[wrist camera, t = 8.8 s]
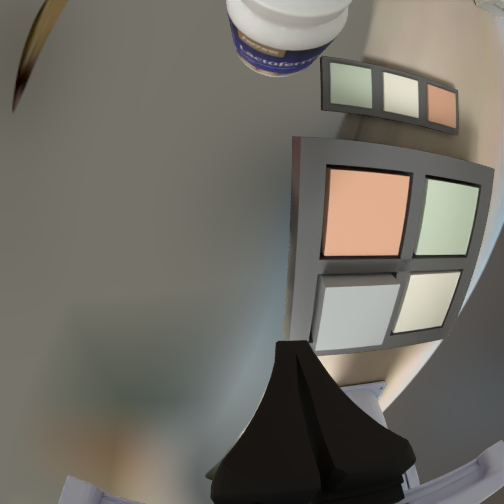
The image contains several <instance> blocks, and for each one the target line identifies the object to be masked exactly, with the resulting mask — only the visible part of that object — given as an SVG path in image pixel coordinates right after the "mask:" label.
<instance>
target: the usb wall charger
mask: <svg viewBox="0 0 504 504" xmlns="http://www.w3.org/2000/svg"><path fill="white" fill-rule="evenodd" d="M475 3H476V6H477V7H479V8H481V9H482V10H484V11H486V12H487V13H489V14H490V15H492V16H494V17H496V18H502V17H504V0H475Z"/></svg>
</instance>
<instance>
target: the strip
mask: <svg viewBox="0 0 504 504" xmlns="http://www.w3.org/2000/svg"><path fill="white" fill-rule="evenodd" d="M320 72H321V110H324V111H334V112H343V113H351V114H358V115H365V116H372V117H378V118H384V119H389V120H395V121H400V122H405V123H409V124H414V125H418V126H423V127H427V128H431V129H435V130H439V131H442V132H446V133H449V134H453V135H458V124H459V111H458V90H456V89H454V88H451V87H448V86H446V85H443V84H440V83H437V82H435V81H432V80H429V79H426V78H423V77H419V76H416V75H413V74H409V73H406V72H402V71H399V70H395V69H391V68H387V67H382V66H378V65H374V64H369V63H364V62H359V61H353V60H347V59H341V58H333V57H326V56H322V57H321V58H320Z"/></svg>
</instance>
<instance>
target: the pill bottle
mask: <svg viewBox="0 0 504 504" xmlns="http://www.w3.org/2000/svg"><path fill="white" fill-rule="evenodd" d="M352 1H353V0H226V7H227V12H228V17H229V21H230V27H231V32H232V37H233V43H234V46H235V50H236V52H237V54H238V56H239V58H240V59H241V60H242V61H243V62H244V64H246V65H247V66H248V67H249V68H251V69H252V70H254V71H256V72H258V73H260V74H263V75H267V76H272V77H286V76H291V75H295V74H297V73H299V72H301V71H303V70H305V69H306V68H307V67H308V66H309V65H310V64H312V62H313V61H314V60H315V59H316V58H317V57H318V56H319V55H320V54H321V53H322V52H323V51H324V50H325V49H326V48H327V47H328V45H329V44H330V43H331V42H332V41H333V40H334V39H335V38H336V37H337V36H338V34H340V32H341V31H342V29H343V28H344V26H345V24H346V22H347V18H348V6H349V5H350V3H351V2H352Z"/></svg>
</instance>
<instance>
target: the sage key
mask: <svg viewBox="0 0 504 504" xmlns="http://www.w3.org/2000/svg"><path fill="white" fill-rule="evenodd" d="M478 191H479V188H477V187H475V186H472V185H469V184H466V183H464V182H461V181H458V180H454V179H449V178H443V177H437V176H431V175H425V184H424V193H423V200H422V207H421V214H420V220H419V226H418V231H417V236H416V241H415V246H414V251H413V253H414V254H415V255H460V254H466V251H467V247H468V243H469V239H470V235H471V230H472V226H473V221H474V216H475V210H476V204H477V198H478Z"/></svg>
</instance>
